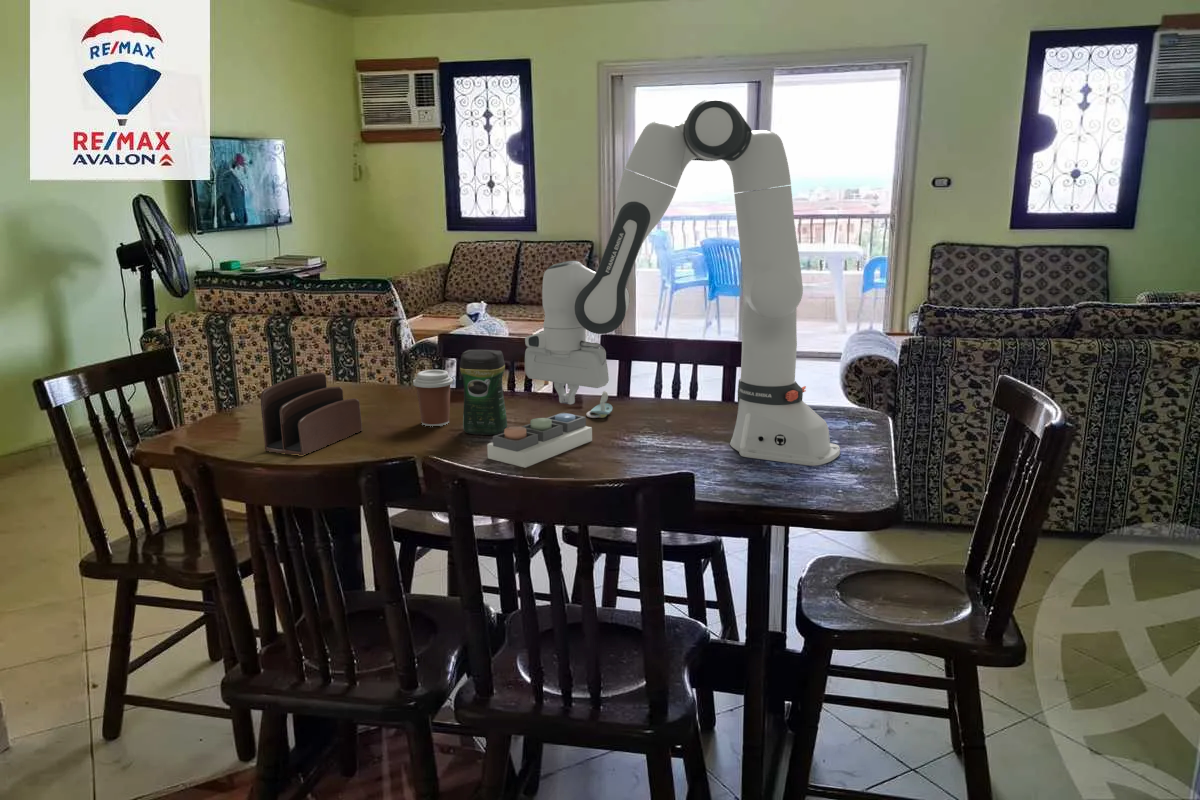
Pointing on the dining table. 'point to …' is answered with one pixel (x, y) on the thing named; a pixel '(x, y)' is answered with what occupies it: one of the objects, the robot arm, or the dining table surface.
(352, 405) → the letter holder
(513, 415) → the dining table surface
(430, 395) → the coffee cup
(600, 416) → the pacifier
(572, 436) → the button panel
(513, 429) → the terracotta button
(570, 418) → the blue button
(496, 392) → the coffee jar
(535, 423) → the sage button
